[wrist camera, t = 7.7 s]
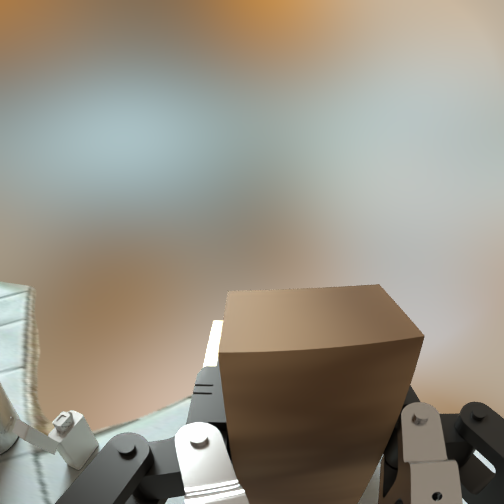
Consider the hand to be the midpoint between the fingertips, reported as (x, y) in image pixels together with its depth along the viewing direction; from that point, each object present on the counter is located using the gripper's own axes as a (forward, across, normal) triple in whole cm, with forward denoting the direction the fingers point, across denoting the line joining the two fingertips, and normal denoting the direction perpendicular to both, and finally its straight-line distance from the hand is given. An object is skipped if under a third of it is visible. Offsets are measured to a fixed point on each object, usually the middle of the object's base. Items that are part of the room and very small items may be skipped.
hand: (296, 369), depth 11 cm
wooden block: (-3, 0, +6) cm, 7 cm away
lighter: (+4, +19, +17) cm, 25 cm away
